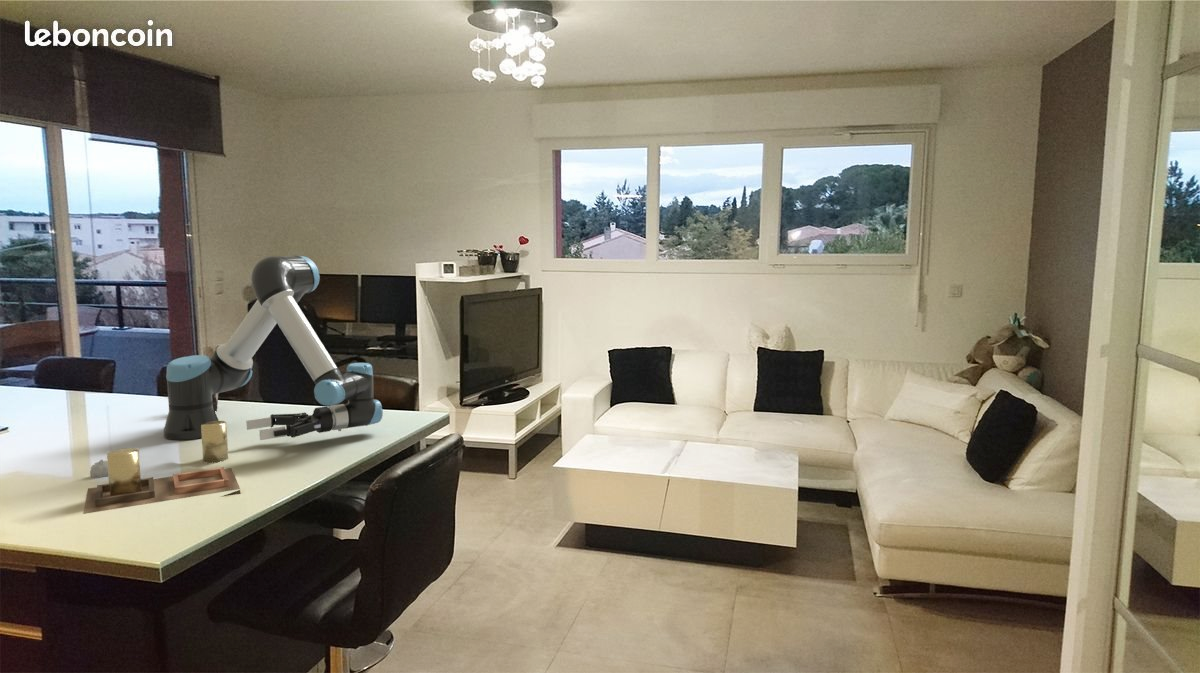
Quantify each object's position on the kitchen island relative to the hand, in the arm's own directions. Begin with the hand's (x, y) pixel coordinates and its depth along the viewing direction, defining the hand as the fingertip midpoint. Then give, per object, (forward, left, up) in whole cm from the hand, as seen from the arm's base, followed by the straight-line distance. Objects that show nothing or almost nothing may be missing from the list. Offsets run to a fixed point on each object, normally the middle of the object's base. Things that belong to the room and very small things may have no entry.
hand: (253, 429), depth 197 cm
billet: (+5, -38, -5) cm, 39 cm away
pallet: (+9, -32, -7) cm, 34 cm away
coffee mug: (-55, +27, -7) cm, 62 cm away
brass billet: (-4, -9, -7) cm, 12 cm away
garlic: (-14, -32, -7) cm, 35 cm away
